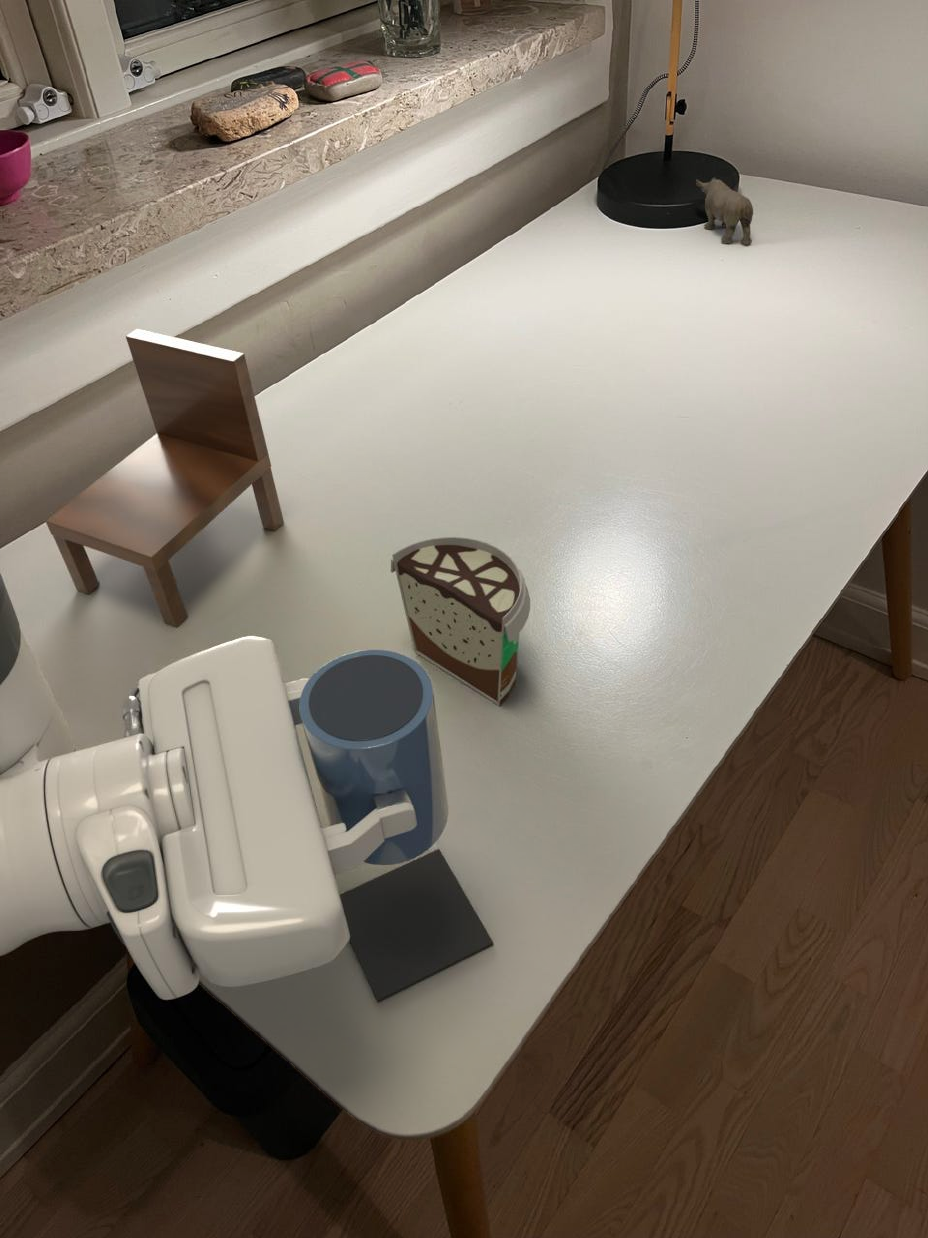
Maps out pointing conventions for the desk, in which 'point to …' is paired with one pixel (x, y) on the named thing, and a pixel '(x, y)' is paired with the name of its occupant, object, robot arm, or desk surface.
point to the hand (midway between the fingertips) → (392, 749)
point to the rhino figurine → (727, 209)
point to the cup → (376, 744)
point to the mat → (411, 924)
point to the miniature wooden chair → (173, 467)
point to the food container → (464, 610)
